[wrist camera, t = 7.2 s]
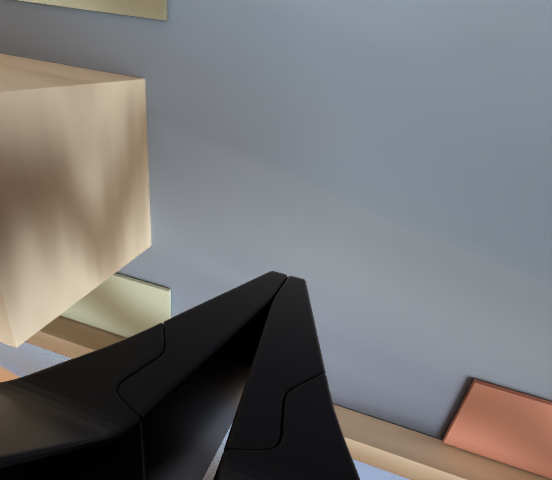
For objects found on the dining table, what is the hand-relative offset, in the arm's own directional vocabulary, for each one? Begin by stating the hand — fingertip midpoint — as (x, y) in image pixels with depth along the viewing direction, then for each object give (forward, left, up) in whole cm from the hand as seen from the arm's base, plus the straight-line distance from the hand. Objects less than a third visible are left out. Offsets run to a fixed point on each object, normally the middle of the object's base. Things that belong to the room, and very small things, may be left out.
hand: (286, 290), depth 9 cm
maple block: (0, +11, -6) cm, 12 cm away
